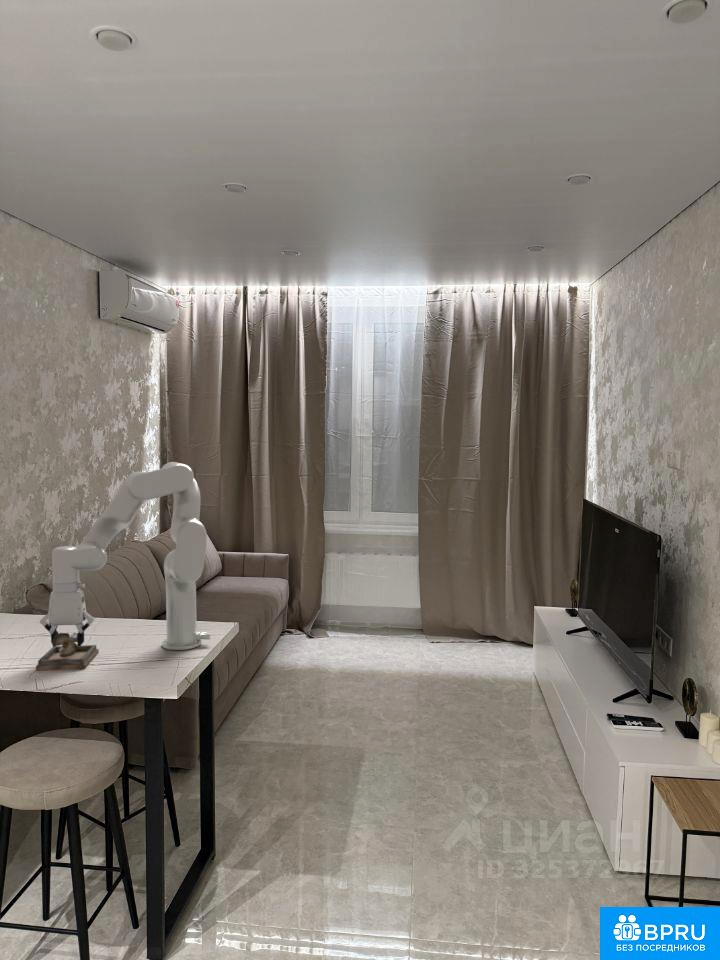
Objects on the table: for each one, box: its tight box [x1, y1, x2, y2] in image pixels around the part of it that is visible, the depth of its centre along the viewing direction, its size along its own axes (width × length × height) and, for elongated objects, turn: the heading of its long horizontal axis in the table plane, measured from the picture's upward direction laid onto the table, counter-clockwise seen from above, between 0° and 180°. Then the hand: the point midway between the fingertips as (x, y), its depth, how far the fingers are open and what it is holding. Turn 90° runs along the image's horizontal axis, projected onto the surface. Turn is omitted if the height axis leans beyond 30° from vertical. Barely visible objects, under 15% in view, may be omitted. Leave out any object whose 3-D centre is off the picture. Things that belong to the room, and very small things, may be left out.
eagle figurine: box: [51, 632, 78, 658], centre depth 216 cm, size 8×7×9 cm
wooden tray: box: [35, 644, 100, 671], centre depth 218 cm, size 14×15×3 cm
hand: (67, 644), depth 218 cm, fingers closed on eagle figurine, 6 cm apart
